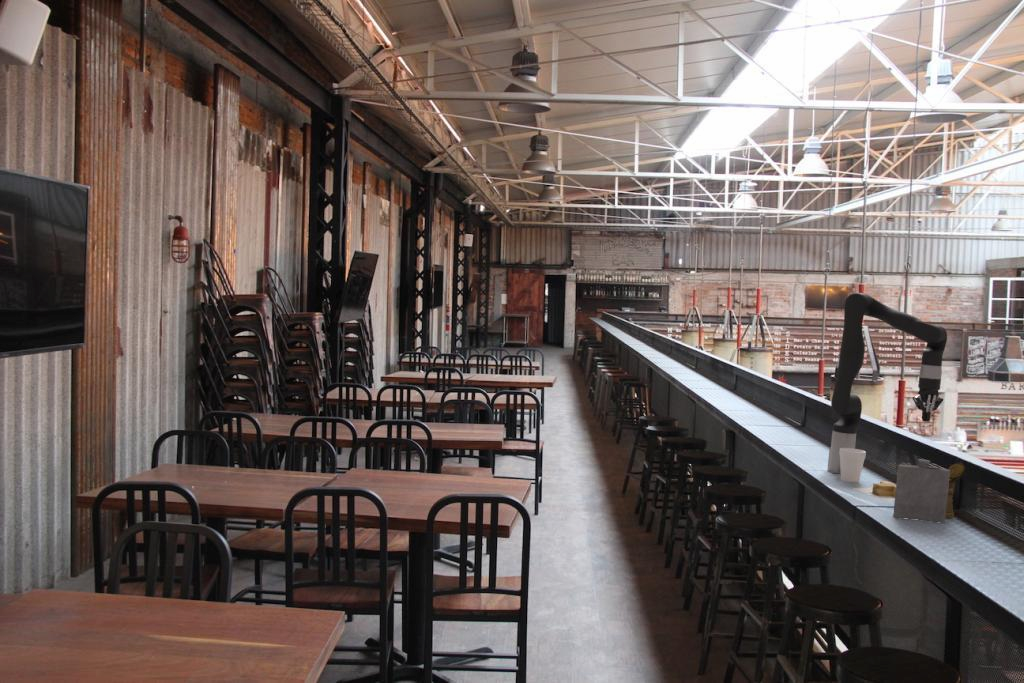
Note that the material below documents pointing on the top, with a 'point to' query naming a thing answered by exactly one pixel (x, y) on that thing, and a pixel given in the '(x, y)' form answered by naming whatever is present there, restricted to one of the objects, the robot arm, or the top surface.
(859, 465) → the foam cup
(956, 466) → the wooden mug
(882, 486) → the t block
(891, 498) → the t board
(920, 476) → the hip flask
